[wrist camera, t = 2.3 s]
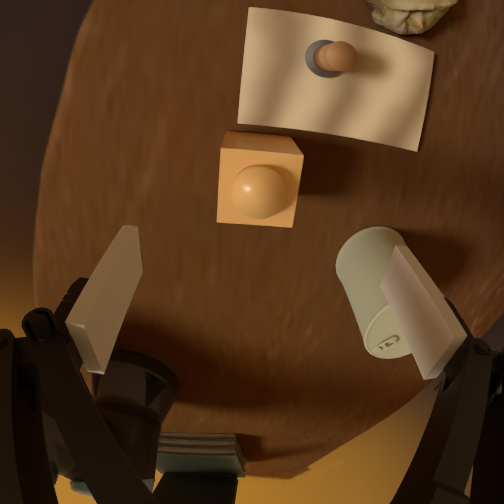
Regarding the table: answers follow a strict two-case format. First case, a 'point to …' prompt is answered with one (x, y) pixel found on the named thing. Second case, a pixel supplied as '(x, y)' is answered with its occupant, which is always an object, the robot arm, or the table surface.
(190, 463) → the dark boxy piece
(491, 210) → the table surface
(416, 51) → the flat beige board
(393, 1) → the pastry
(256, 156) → the cube with dome bump
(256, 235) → the table surface
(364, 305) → the can
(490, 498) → the robot arm
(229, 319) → the table surface
